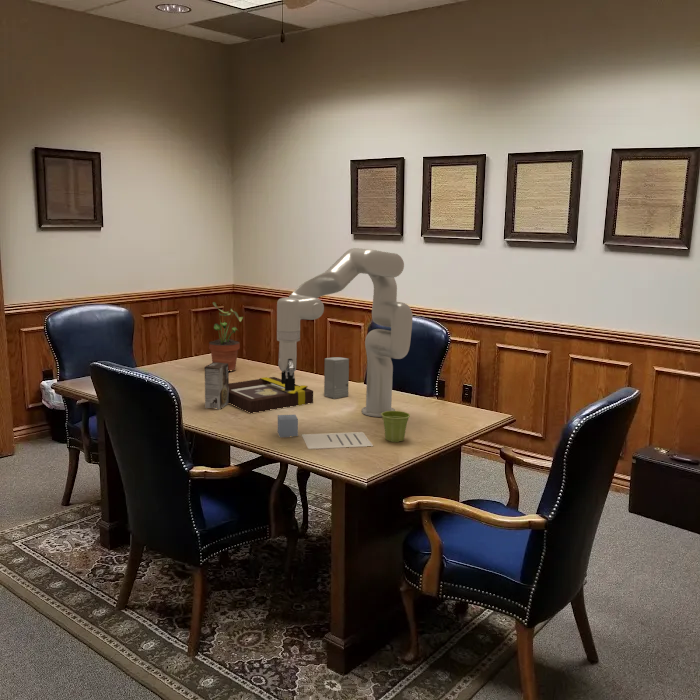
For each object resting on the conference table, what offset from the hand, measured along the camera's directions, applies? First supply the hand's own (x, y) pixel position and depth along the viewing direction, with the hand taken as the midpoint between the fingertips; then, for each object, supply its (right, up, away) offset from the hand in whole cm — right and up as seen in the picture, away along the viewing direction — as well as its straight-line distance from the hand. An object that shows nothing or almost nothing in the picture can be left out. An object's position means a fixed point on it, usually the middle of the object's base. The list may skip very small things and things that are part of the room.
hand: (287, 387), depth 238 cm
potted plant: (-37, +2, +98) cm, 105 cm away
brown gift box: (-13, -8, +46) cm, 49 cm away
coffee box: (-30, -9, +36) cm, 48 cm away
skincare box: (+15, -7, +56) cm, 58 cm away
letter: (+16, -17, -3) cm, 24 cm away
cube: (0, -16, +3) cm, 16 cm away
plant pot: (+35, -18, 0) cm, 39 cm away
